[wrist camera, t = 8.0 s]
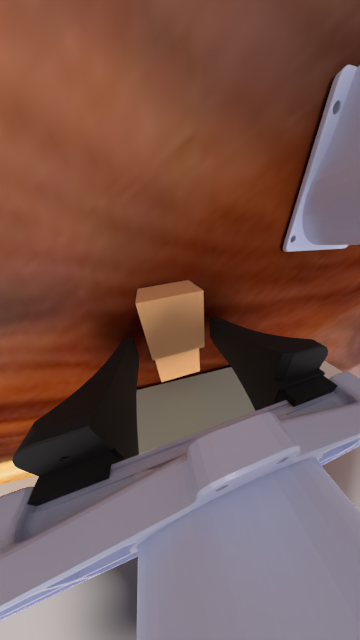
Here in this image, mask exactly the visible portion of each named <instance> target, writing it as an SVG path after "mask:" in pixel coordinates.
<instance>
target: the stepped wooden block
mask: <svg viewBox="0 0 360 640" xmlns="http://www.w3.org/2000/svg"><path fill="white" fill-rule="evenodd" d="M135 304H136V307H137V311H138V314H139V317H140V321H141V324H142V327H143V330H144V334H145V337H146V340H147V344H148V347H149V350H150V353H151V357H152V360H155V362H156V365H157V369H158V372H159V375H160V379H161V382H164V381H168V380H171V379H175V378H178V377H182V376H185V375H188V374H192V373H195V372H199V371H200V361H199V348H202V347H205V343H204V291H203V290H202V289H201V288H199V287H198V286H196V285H195V284H193V283H192V282H191V281H189V280H186V281H180V282H174V283H168V284H163V285H157V286H151V287H145V288H140V289H137V295H136V302H135Z"/></svg>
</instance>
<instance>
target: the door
mask: <svg viewBox="0 0 360 640" xmlns="http://www.w3.org/2000/svg"><path fill="white" fill-rule="evenodd" d="M136 400H137V430H138V447H139V454H142V453H144V452H147V451H150V450H153V449H155V448H158V447H161V446H163V445H166V444H169V443H171V442H174V441H177V440H179V439H182V438H185V437H187V436H190V435H193V434H196V433H198V432H201V431H204V430H206V429H209V428H212V427H214V426H217V425H220V424H222V423H225V422H228V421H230V420H233V419H236V418H239V417H241V416H244V415H247V414H249V413H252V412H255V409H254V407H253V405H252V403H251V401H250V399H249V397H248V395H247V393H246V391H245V390H244V388H243V386H242V384H241V382H240V381H239V379H238V377H237V375H236V374H235V372H234V370H233V369H232V367H229V368H225V369H221V370H217V371H213V372H209V373H205V374H201V375H197V376H192V377H188V378H184V379H180V380H176V381H172V382H168V383H164V384H160V385H156V386H152V387H148V388H144V389H139V390H137V393H136Z"/></svg>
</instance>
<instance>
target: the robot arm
mask: <svg viewBox="0 0 360 640" xmlns="http://www.w3.org/2000/svg"><path fill="white" fill-rule="evenodd" d="M348 245H360V65H359V66H358V67H356V66H353V65H347V66H345V67H344V68H343V69H342V70H341V71H340V72H339V73H338V74H337V75H336V77H335V78H334V81H333V83H332V86H331V89H330V93H329V96H328V99H327V102H326V106H325V109H324V112H323V116H322V119H321V122H320V126H319V129H318V132H317V135H316V139H315V142H314V145H313V149H312V152H311V155H310V158H309V162H308V165H307V168H306V172H305V175H304V178H303V182H302V185H301V188H300V191H299V195H298V198H297V201H296V205H295V208H294V211H293V215H292V218H291V221H290V224H289V228H288V231H287V234H286V238H285V241H284V244H283V251H285V252H293V251H309V250H326V249H343V248H346V247H347V246H348ZM210 337H211V339H212V341H213V343H214V344H215V346H216V347H217V348H218V350H219V351H220V352H221V354H222V355H223V356H224V358H225V359H226V360H227V361H228V363H229V364H230V366H231V367H232V369H233V370H234V372H235V374H236V375H237V377H238V379H239V381H240V382H241V384H242V386H243V388H244V390H245V391H246V393H247V395H248V397H249V399H250V401H251V403H252V405H253V407H254V409H255V412H252V413H249V414H247V415H244V416H241V417H239V418H236V419H233V420H230V421H228V422H225V423H222V424H220V425H217V426H214V427H212V428H209V429H206V430H204V431H201V432H198V433H196V434H193V435H190V436H187V437H185V438H182V439H179V440H177V441H174V442H171V443H169V444H166V445H163V446H161V447H158V448H155V449H153V450H150V451H147V452H144V453H142V454H139V447H138V430H137V400H136V393H137V380H138V368H139V358H138V352H137V349H136V347H135V344H134V341H133V339H132V337H127V338H124V339H123V341H122V342H121V344H120V345H119V346H118V348H117V349H116V350H115V352H114V353H113V354H112V356H111V357H110V358H109V359H108V360H107V362H106V363H105V364H104V365H103V366H102V367H101V369H100V370H99V371H98V372H97V373H96V374H95V375H94V376H93V377H92V378H91V379H89V380H88V381H87V382H86V383H85V384H84V385H83V386H82V387H81V388H79V389H78V390H77V391H76V392H75V393H73V394H72V395H71V396H70V397H68V398H67V399H66V400H65V401H63V402H62V403H61V404H59V405H58V406H57V407H55V408H54V409H52V410H51V411H50V412H48V413H47V414H45V415H44V416H43V417H41V418H40V419H38V420H37V421H35V422H34V424H33V425H32V427H31V429H30V430H29V432H28V433H27V435H26V437H25V438H24V440H23V441H22V443H21V445H20V446H19V448H18V449H17V451H16V453H15V454H14V456H13V460H12V461H13V463H14V465H15V466H16V467H18V468H19V469H22V470H24V471H27V472H29V473H32V474H35V475H37V476H39V478H38V480H37V482H36V485H35V487H27V488H23V489H20V490H17V491H15V492H12V493H9V494H6V495H4V496H1V497H0V621H1V620H3V619H5V618H7V617H9V616H11V615H13V614H15V613H18V612H20V611H22V610H24V609H25V608H28V607H30V606H32V605H34V604H36V603H39V602H40V601H43V600H45V599H47V598H49V597H51V596H53V595H56V594H58V593H60V592H62V591H64V590H66V589H68V588H71V587H73V586H75V585H77V584H79V583H81V582H83V581H85V580H88V579H90V578H92V577H94V576H96V575H98V574H101V573H103V572H105V571H107V570H109V569H111V568H114V567H116V566H118V565H120V564H122V563H124V562H127V561H129V560H131V559H133V558H135V557H137V556H138V589H137V640H360V512H359V511H358V510H357V509H356V508H355V506H354V505H353V504H352V503H351V501H350V500H349V499H348V498H347V497H346V495H345V494H344V493H343V492H342V490H341V489H340V488H339V487H338V486H337V484H336V483H335V482H334V481H333V479H332V478H331V477H330V476H329V475H328V473H327V472H326V471H325V470H324V469H323V467H322V465H324V464H326V463H327V462H329V461H331V460H333V459H335V458H337V457H339V456H341V455H343V454H345V453H347V452H349V451H350V450H353V449H354V448H356V447H358V446H360V379H359V378H358V377H356V376H354V375H353V374H351V373H349V372H343V373H340V374H337V375H335V376H332V377H331V378H329V379H328V378H326V377H325V376H323V375H324V374H325V372H324V371H322V370H321V369H319V368H320V366H321V365H322V363H323V362H324V360H325V358H326V356H327V354H328V350H327V347H325V346H324V345H322V344H320V343H318V342H316V341H314V340H312V339H300V338H290V337H282V336H276V335H270V334H265V333H261V332H257V331H253V330H250V329H247V328H244V327H241V326H238V325H235V324H233V323H230V322H228V321H225V320H223V319H220V318H217V317H214V318H210Z"/></svg>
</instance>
